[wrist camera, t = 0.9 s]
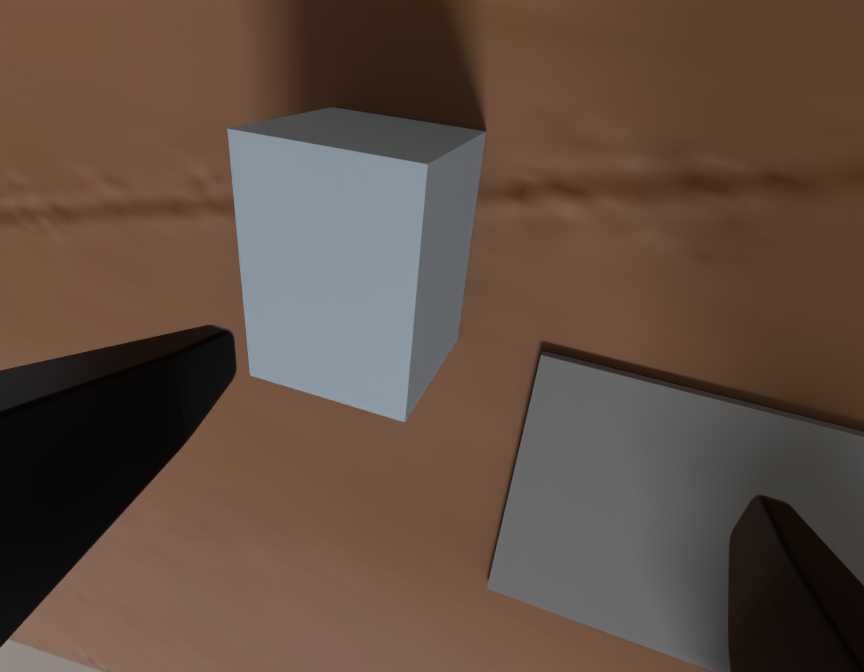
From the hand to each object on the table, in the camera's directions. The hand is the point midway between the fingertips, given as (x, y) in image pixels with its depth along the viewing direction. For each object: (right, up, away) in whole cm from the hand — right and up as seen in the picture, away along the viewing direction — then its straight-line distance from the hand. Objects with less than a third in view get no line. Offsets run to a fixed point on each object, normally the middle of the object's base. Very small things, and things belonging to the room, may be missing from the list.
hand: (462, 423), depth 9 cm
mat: (+11, -8, +17) cm, 21 cm away
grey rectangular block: (-2, +6, +14) cm, 15 cm away
